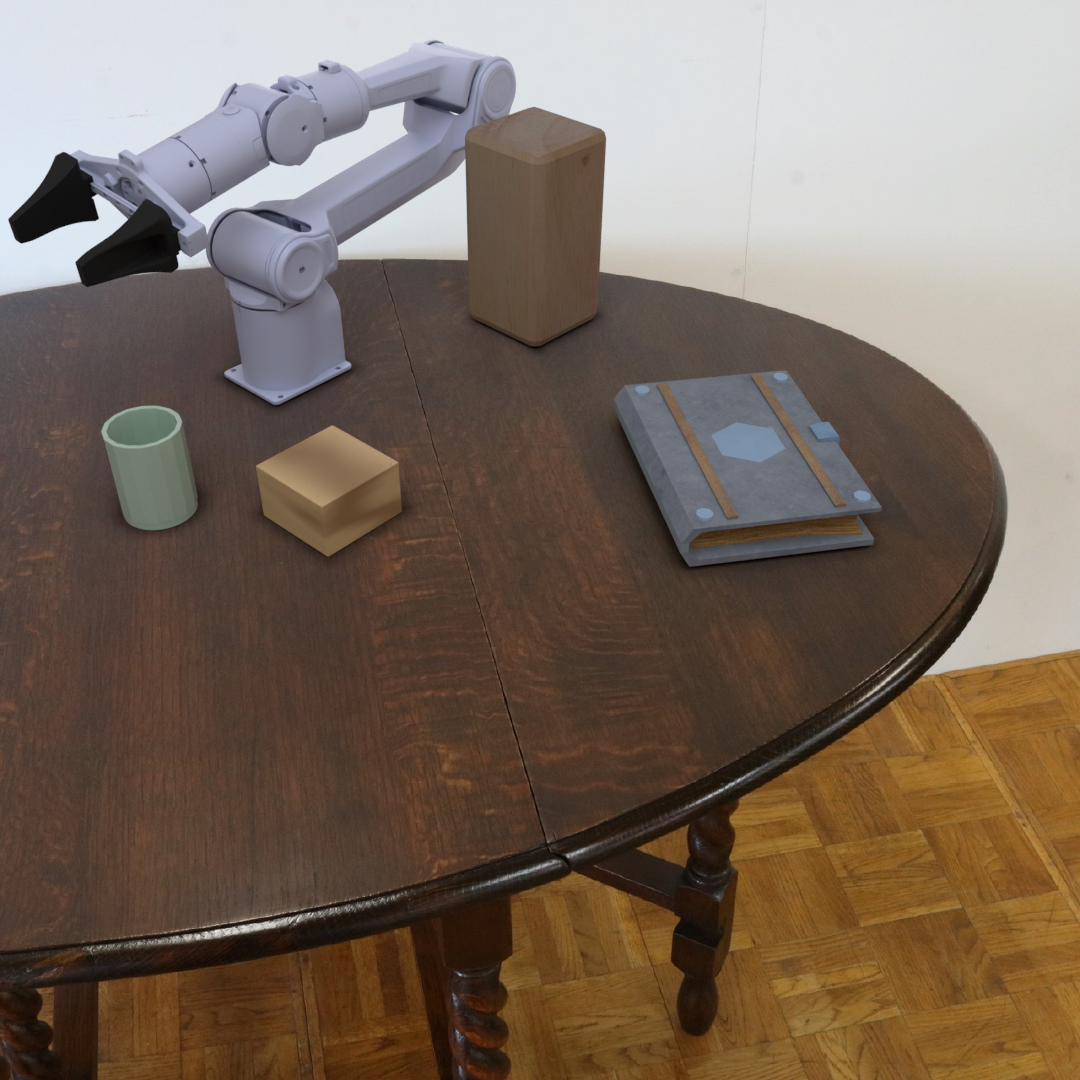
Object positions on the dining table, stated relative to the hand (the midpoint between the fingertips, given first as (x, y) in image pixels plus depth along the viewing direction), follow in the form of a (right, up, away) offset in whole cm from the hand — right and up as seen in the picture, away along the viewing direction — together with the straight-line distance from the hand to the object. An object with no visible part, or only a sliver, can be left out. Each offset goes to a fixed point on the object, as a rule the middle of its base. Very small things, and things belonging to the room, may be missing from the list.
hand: (47, 252), depth 89 cm
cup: (+6, -19, +9) cm, 22 cm away
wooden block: (+36, +1, +35) cm, 50 cm away
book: (+54, -17, +13) cm, 58 cm away
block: (+20, -19, +9) cm, 29 cm away
